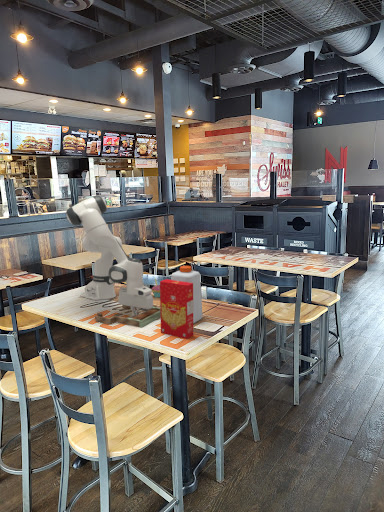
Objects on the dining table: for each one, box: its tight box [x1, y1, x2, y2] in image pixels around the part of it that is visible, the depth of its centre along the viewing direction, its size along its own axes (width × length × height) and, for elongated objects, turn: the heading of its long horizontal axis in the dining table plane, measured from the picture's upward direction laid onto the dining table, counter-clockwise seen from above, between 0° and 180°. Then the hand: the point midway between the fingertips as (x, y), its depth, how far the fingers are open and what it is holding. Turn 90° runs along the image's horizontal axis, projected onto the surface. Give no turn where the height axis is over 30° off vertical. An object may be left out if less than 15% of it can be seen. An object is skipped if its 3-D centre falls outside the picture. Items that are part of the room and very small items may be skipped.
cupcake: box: [150, 278, 160, 298], centre depth 242 cm, size 9×8×12 cm
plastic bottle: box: [170, 265, 204, 325], centre depth 198 cm, size 15×15×28 cm
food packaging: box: [159, 278, 194, 340], centre depth 178 cm, size 15×5×25 cm, turn 58°
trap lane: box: [94, 304, 161, 328], centre depth 204 cm, size 28×30×3 cm
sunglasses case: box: [131, 310, 158, 320], centre depth 200 cm, size 18×7×7 cm
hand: (135, 314), depth 203 cm, fingers closed
